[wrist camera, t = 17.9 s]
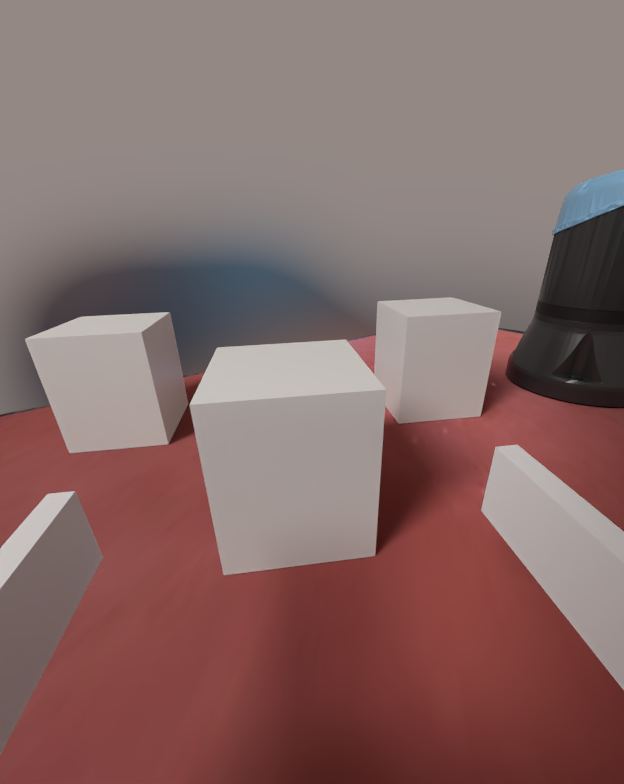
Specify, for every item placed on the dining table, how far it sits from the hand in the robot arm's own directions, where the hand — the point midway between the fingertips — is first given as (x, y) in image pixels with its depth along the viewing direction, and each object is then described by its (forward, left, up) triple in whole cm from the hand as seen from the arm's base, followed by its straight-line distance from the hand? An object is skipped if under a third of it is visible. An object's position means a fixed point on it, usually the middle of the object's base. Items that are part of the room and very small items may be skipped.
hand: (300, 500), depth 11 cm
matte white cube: (-16, -25, -10) cm, 31 cm away
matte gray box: (+16, -25, -10) cm, 31 cm away
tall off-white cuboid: (0, -10, -10) cm, 14 cm away
